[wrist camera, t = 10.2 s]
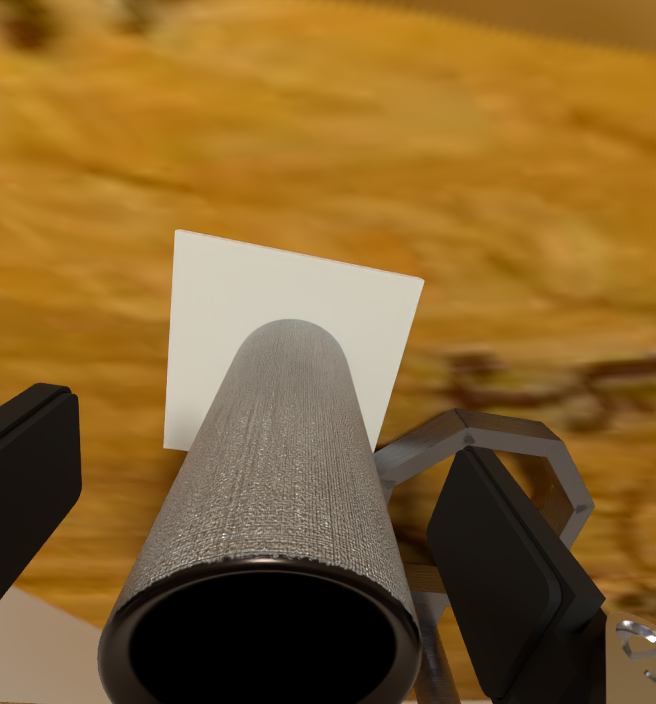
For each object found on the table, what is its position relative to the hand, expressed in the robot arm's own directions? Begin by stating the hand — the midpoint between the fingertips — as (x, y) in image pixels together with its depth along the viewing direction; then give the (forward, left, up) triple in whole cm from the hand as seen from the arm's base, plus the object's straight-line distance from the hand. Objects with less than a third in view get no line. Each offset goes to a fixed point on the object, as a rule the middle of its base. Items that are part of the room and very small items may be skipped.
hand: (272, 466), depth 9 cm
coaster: (0, 0, -6) cm, 6 cm away
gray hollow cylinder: (0, 0, -6) cm, 6 cm away
